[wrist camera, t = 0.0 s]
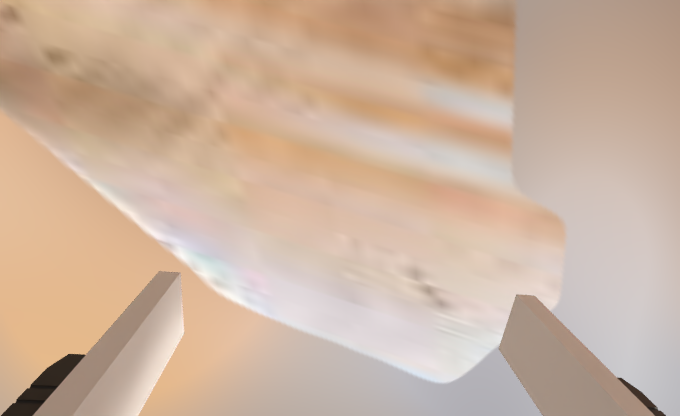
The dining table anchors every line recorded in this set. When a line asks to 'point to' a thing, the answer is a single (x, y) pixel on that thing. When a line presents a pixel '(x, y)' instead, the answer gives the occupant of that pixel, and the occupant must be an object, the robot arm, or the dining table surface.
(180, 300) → the robot arm
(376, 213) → the dining table surface
